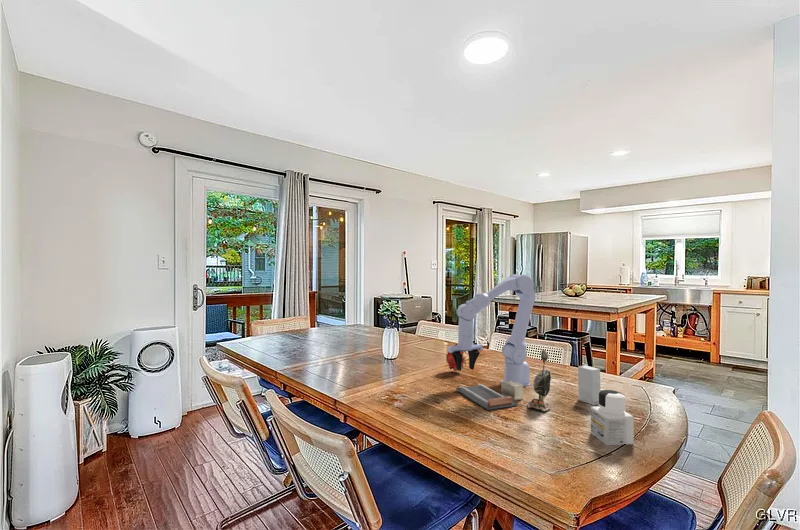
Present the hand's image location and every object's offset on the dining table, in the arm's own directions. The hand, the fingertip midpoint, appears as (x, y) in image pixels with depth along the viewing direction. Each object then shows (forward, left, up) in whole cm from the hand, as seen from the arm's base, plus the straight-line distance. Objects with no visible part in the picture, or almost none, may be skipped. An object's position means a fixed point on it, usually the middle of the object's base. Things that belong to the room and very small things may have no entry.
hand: (465, 369), depth 152 cm
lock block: (-10, +16, -6) cm, 20 cm away
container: (-15, +54, -6) cm, 56 cm away
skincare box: (-32, +30, -6) cm, 44 cm away
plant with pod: (-13, +28, -6) cm, 31 cm away
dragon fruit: (-6, -18, -6) cm, 20 cm away
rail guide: (0, +13, -6) cm, 14 cm away
